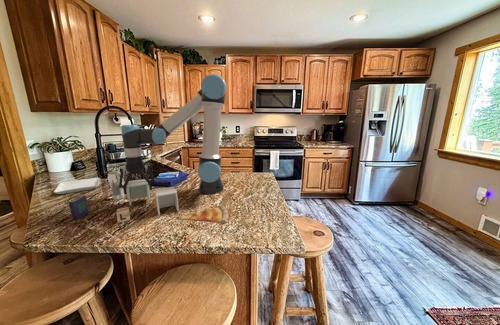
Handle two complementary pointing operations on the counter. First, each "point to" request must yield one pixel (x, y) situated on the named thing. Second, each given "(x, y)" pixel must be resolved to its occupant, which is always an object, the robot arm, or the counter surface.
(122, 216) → the letter cube
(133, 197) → the sage hood
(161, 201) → the grey mini stool
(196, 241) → the counter surface
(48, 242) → the counter surface
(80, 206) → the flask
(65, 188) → the salad plate
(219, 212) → the pizza slice
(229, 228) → the counter surface
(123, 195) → the beer glass
